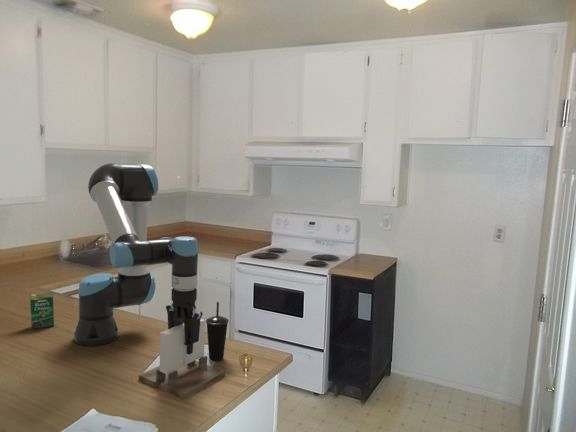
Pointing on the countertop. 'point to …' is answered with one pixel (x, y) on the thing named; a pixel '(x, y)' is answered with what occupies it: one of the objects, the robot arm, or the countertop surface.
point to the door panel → (178, 347)
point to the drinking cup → (216, 336)
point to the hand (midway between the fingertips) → (182, 361)
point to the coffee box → (42, 310)
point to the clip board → (183, 378)
